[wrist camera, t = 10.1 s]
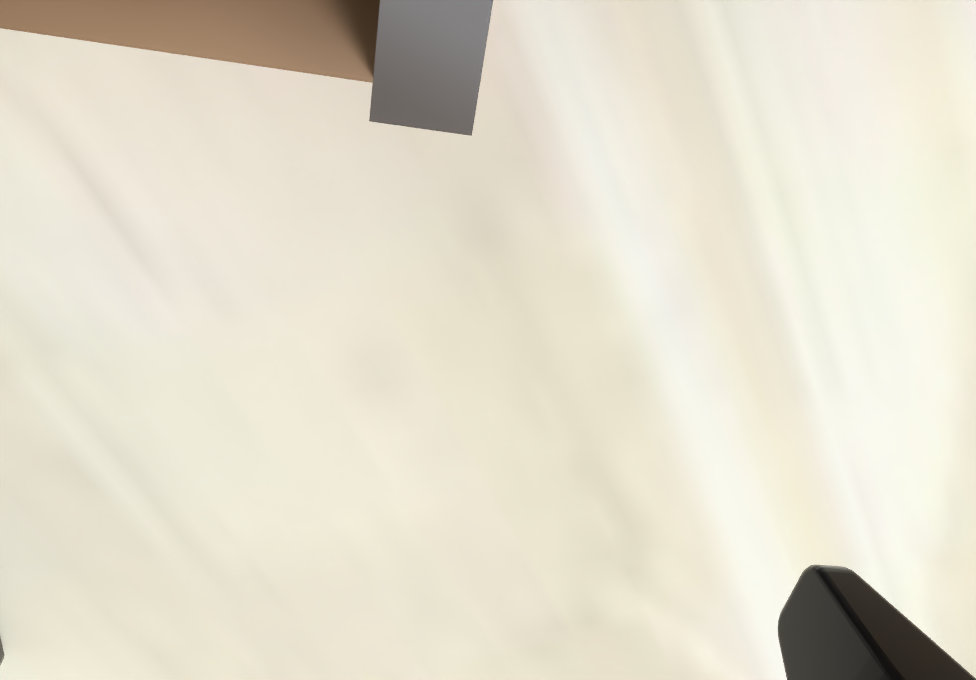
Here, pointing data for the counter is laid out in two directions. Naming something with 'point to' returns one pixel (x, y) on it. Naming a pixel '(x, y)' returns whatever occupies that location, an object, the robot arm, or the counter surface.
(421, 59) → the jig
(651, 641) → the counter surface
